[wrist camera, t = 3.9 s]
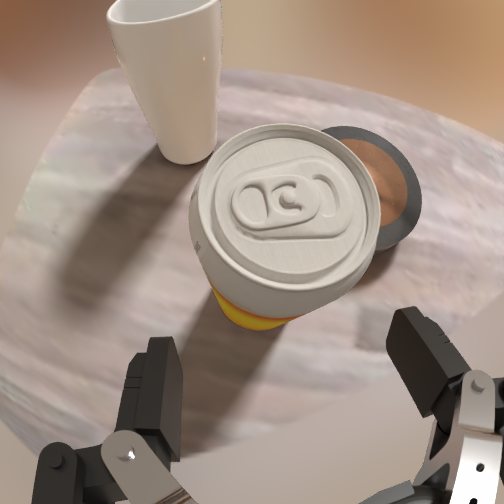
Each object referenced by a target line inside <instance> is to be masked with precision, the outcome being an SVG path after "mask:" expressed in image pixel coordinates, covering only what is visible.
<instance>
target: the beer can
mask: <svg viewBox="0 0 504 504" xmlns="http://www.w3.org/2000/svg"><path fill="white" fill-rule="evenodd" d="M380 218H381V210H380V201H379V196H378V192H377V189H376V186H375V184H374V182H373V179H372V177H371V175H370V174H369V172H368V170H367V169H366V167H365V166H364V164H363V163H362V162H361V160H360V159H359V158H358V157H357V156H356V155H355V154H354V153H353V152H352V151H351V150H350V149H349V148H348V147H346V146H345V145H344V144H342V143H341V142H340V141H338V140H337V139H335V138H333V137H332V136H330V135H328V134H326V133H324V132H321V131H319V130H316V129H313V128H310V127H306V126H301V125H296V124H268V125H262V126H258V127H254V128H251V129H248V130H246V131H243V132H241V133H239V134H238V135H236V136H234V137H232V138H231V139H229V140H228V141H227V142H225V143H224V144H223V145H222V146H221V147H220V148H219V149H218V150H217V151H216V152H215V153H214V154H213V156H212V157H211V159H210V160H209V162H208V163H207V165H206V167H205V169H204V171H203V173H202V174H201V176H200V177H199V179H198V181H197V183H196V185H195V187H194V190H193V193H192V196H191V201H190V206H189V230H190V235H191V240H192V243H193V246H194V249H195V251H196V253H197V256H198V258H199V260H200V263H201V265H202V267H203V269H204V272H205V274H206V276H207V278H208V281H209V283H210V285H211V287H212V289H213V292H214V294H215V296H216V298H217V300H218V303H219V305H220V307H221V309H222V310H223V312H224V313H225V315H226V316H227V317H228V318H229V319H230V320H231V321H233V322H234V323H235V324H237V325H239V326H241V327H243V328H246V329H249V330H258V331H261V330H268V329H272V328H275V327H277V326H280V325H282V324H284V323H286V322H289V321H291V320H293V319H296V318H298V317H300V316H302V315H305V314H307V313H309V312H311V311H313V310H316V309H318V308H320V307H322V306H324V305H326V304H328V303H330V302H332V301H334V300H336V299H338V298H339V297H341V296H342V295H344V294H345V293H347V292H348V291H349V290H350V289H351V288H352V287H353V286H355V284H356V283H357V282H358V281H359V280H360V279H361V278H362V276H363V274H364V273H365V271H366V270H367V268H368V266H369V264H370V262H371V260H372V257H373V254H374V251H375V247H376V242H377V236H378V233H379V227H380Z"/></svg>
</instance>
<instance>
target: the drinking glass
mask: <svg viewBox="0 0 504 504" xmlns="http://www.w3.org/2000/svg"><path fill="white" fill-rule="evenodd" d="M106 19H107V23H108V27H109V31H110V36H111V39H112V43H113V46H114V49H115V53H116V55H117V58H118V61H119V64H120V66H121V69H122V71H123V73H124V75H125V78H126V80H127V82H128V84H129V86H130V88H131V90H132V92H133V94H134V96H135V98H136V100H137V102H138V104H139V106H140V108H141V110H142V112H143V114H144V116H145V118H146V120H147V122H148V124H149V126H150V128H151V130H152V132H153V134H154V136H155V139H156V141H157V144H158V146H159V149H160V151H161V153H162V155H163V156H164V157H165V158H166V159H168V160H169V161H171V162H173V163H176V164H183V165H187V164H193V163H197V162H199V161H201V160H203V159H205V158H206V157H208V156H209V155H210V154H211V153H212V151H213V150H214V148H215V146H216V144H217V139H218V132H217V116H218V99H219V85H220V73H221V61H222V46H223V45H222V44H223V26H222V25H223V23H222V6H221V0H117V1H116V2H115V3H114V4H113V5H112V6H111V7H110V8H109V10H108V12H107V14H106Z"/></svg>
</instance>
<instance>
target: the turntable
mask: <svg viewBox="0 0 504 504" xmlns="http://www.w3.org/2000/svg"><path fill="white" fill-rule="evenodd" d="M321 132H324V133H326V134H328V135H330V136H332V137H333V138H335V139H337V140H338V141H340V142H341V143H342V144H344V145H345V146H346V147H348V148H349V149H350V150H351V151H352V152H353V153H354V154H355V155H356V156H357V157H358V158H359V159H360V160H361V162H362V163H363V164H364V166H365V167H366V169H367V170H368V172H369V174H370V175H371V177H372V179H373V182H374V184H375V186H376V189H377V192H378V196H379V201H380V210H381V218H380V227H379V233H378V236H377V242H376V247H375V251H374V254H376V253H380V252H383V251H385V250H387V249H389V248H391V247H392V246H394V245H395V244H397V243H398V242H399V241H401V240H402V239H403V238H405V237H406V236H407V235H408V234H409V233H410V232H411V231H412V230H413V228H414V227H415V225H416V224H417V221H418V219H419V216H420V212H421V206H422V195H421V189H420V185H419V182H418V179H417V176H416V174H415V172H414V170H413V168H412V166H411V165H410V163H409V162H408V160H407V159H406V158H405V157H404V155H403V154H402V153H401V152H400V151H399V150H398V149H397V148H396V147H395V146H393V145H392V144H391V143H390V142H388V141H387V140H385V139H384V138H382V137H381V136H379V135H377V134H375V133H373V132H370V131H368V130H365V129H361V128H357V127H350V126H337V127H331V128H327V129H324V130H322V131H321Z"/></svg>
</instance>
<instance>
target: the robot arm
mask: <svg viewBox="0 0 504 504" xmlns="http://www.w3.org/2000/svg"><path fill="white" fill-rule="evenodd" d="M386 349H387V352H388V355H389V356H390V358H391V360H392V362H393V364H394V365H395V367H396V369H397V371H398V372H399V374H400V376H401V378H402V380H403V382H404V383H405V385H406V387H407V389H408V391H409V393H410V394H411V396H412V398H413V400H414V402H415V404H416V406H417V408H418V410H419V412H420V413H421V415H422V417H423V418H425V417H428V416H430V415H432V414H434V416H435V420H434V422H433V425H432V430H431V434H430V439H429V443H428V447H427V451H426V455H425V459H424V462H423V465H422V467H421V469H420V471H419V472H418V474H417V475H416V477H415V479H414V482H413V485H412V484H411V482H410V480H408V481H406V482H403V483H401V484H398V485H396V486H393V487H391V488H387V489H385V490H382V491H379V492H378V493H376V494H374V495H373V496H371V497H370V498H368V499H366V500H364V501H363V502H361V503H359V504H494V502H495V497H496V491H497V486H498V479H499V475H500V477H501V480H502V482H503V485H504V377H503V378H494V379H492V378H491V377H490V376H489V375H488V374H487V373H485V372H483V371H480V370H471V369H470V367H469V366H468V364H467V363H466V361H465V360H464V359H463V357H462V356H461V354H460V353H459V352H458V350H457V349H456V348H455V346H454V345H453V344H452V343H450V340H449V338H448V337H447V336H446V335H445V333H444V332H443V330H442V329H441V328H440V327H439V325H438V324H437V323H435V322H434V321H432V320H431V319H429V318H428V317H424V316H423V314H422V313H421V312H420V311H419V309H418V308H417V307H415V306H412V307H407V308H402V309H398V310H396V311H395V313H394V316H393V319H392V323H391V326H390V329H389V332H388V336H387V339H386ZM182 389H183V373H182V367H181V363H180V360H179V357H178V353H177V350H176V346H175V343H174V340H173V337H172V336H170V337H151V338H150V339H149V343H148V348H147V353H137V354H136V355H135V356H134V358H133V359H132V360H131V362H130V363H129V366H128V370H127V374H126V379H125V383H124V390H123V393H122V397H121V402H120V407H119V413H118V418H117V423H116V428H115V430H114V432H113V433H112V434H111V435H109V436H108V437H107V438H106V439H105V440H104V442H103V443H102V444H100V445H97V446H93V447H88V448H82V449H76V450H73V449H72V448H71V447H70V446H69V445H67V444H65V443H61V442H54V443H51V444H49V445H47V446H46V447H45V448H44V449H43V450H42V451H41V453H40V456H39V460H38V465H37V470H36V476H35V482H34V489H33V495H32V503H31V504H115V502H117V501H122V500H129V501H130V503H131V504H198V503H197V502H196V501H195V500H194V499H193V498H192V497H191V496H190V495H189V494H188V493H187V492H186V491H185V489H183V487H182V486H181V485H180V484H179V483H178V482H177V480H176V479H175V478H174V477H173V476H172V475H171V474H170V464H171V462H180V436H181V409H182Z"/></svg>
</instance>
